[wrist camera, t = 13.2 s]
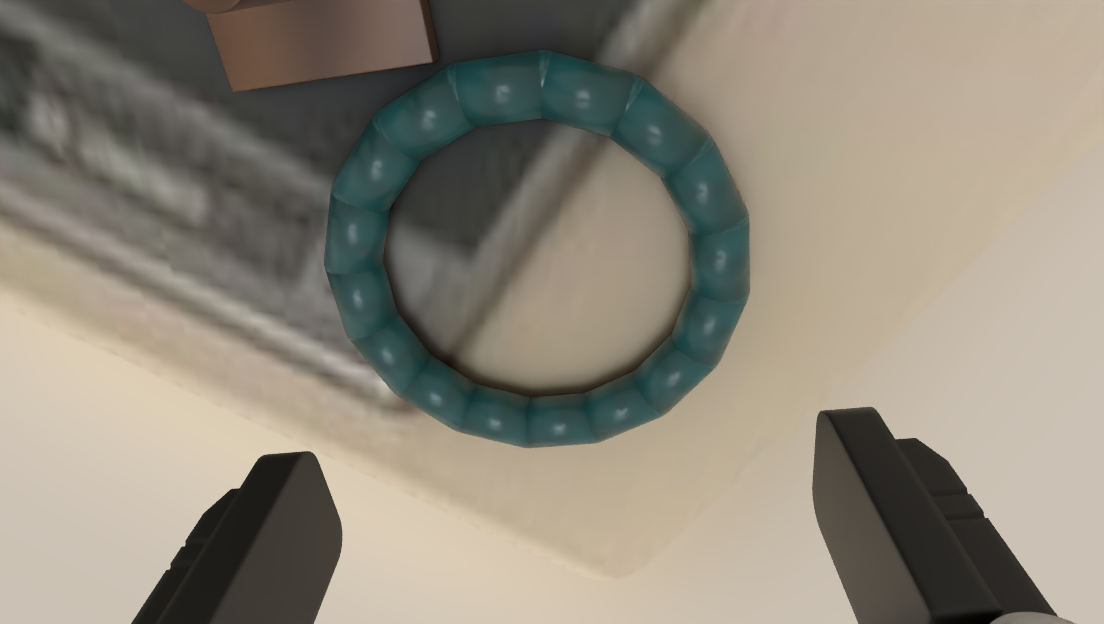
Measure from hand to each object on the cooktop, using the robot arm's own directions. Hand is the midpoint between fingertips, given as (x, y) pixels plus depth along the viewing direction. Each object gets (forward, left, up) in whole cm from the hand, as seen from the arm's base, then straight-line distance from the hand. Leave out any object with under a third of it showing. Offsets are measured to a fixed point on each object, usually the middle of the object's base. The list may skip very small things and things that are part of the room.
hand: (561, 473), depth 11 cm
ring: (-3, -5, -18) cm, 19 cm away
